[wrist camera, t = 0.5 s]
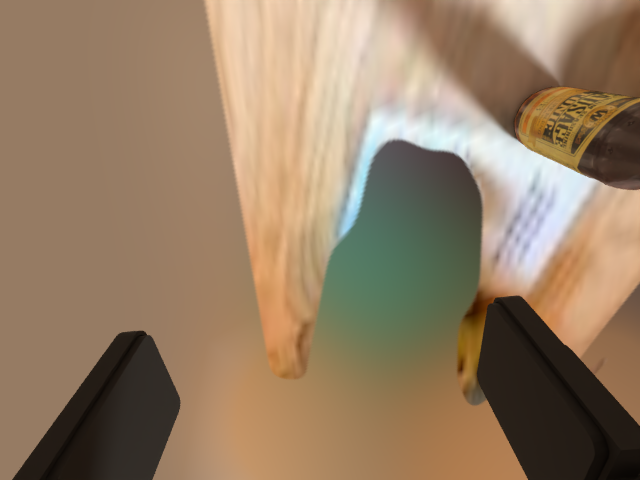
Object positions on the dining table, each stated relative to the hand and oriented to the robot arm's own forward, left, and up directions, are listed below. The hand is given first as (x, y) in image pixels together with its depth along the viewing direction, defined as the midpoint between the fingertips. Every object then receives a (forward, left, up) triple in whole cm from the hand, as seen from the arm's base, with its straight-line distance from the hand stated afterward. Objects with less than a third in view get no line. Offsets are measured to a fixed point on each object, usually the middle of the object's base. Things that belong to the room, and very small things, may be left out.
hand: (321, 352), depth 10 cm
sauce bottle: (-2, +23, -30) cm, 38 cm away
